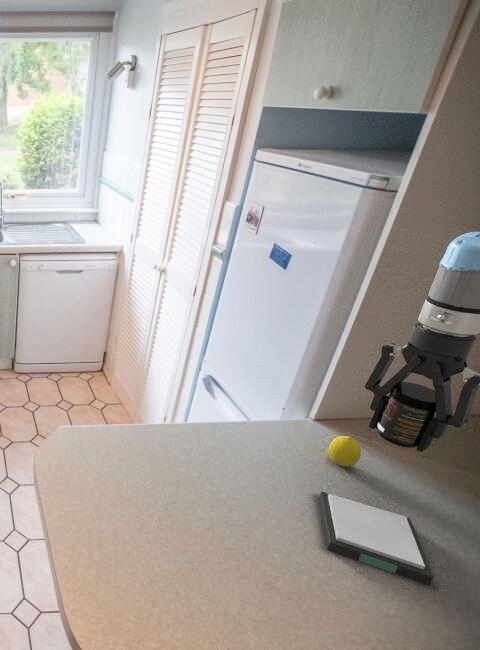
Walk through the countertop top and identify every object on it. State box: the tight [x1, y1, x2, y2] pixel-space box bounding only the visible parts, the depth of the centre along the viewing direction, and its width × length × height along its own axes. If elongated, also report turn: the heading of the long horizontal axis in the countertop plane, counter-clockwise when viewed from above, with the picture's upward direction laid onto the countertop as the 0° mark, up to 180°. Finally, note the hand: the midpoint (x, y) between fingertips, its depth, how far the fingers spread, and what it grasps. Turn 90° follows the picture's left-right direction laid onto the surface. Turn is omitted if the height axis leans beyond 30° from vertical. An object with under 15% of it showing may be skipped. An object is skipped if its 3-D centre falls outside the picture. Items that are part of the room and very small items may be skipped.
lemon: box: [327, 435, 362, 467], centre depth 102 cm, size 6×6×8 cm
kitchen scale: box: [317, 491, 434, 586], centre depth 85 cm, size 14×14×3 cm
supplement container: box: [375, 381, 436, 449], centre depth 84 cm, size 7×7×10 cm
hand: (397, 436), depth 86 cm, fingers closed on supplement container, 7 cm apart
